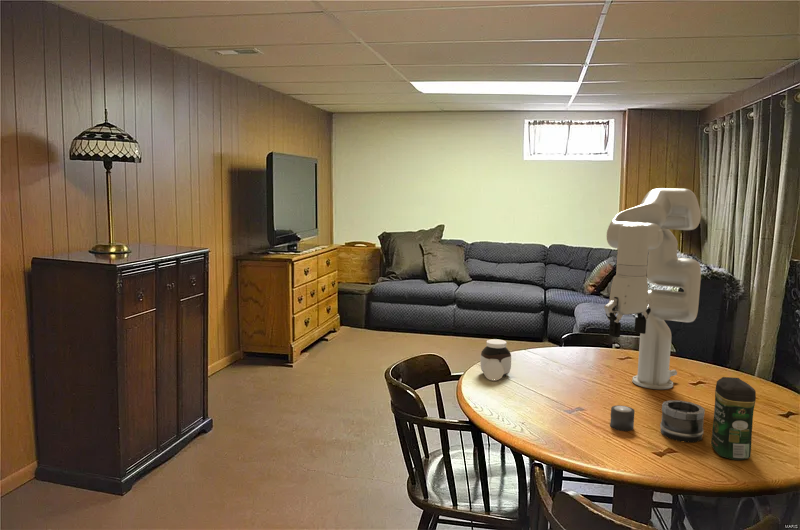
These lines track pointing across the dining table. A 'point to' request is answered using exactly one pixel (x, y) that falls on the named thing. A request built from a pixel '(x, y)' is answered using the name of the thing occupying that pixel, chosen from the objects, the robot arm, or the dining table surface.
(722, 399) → the coffee jar
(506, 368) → the spread jar
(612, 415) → the dark grey short cylinder
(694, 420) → the lens barrel
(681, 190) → the robot arm
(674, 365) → the dining table surface
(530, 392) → the dining table surface
